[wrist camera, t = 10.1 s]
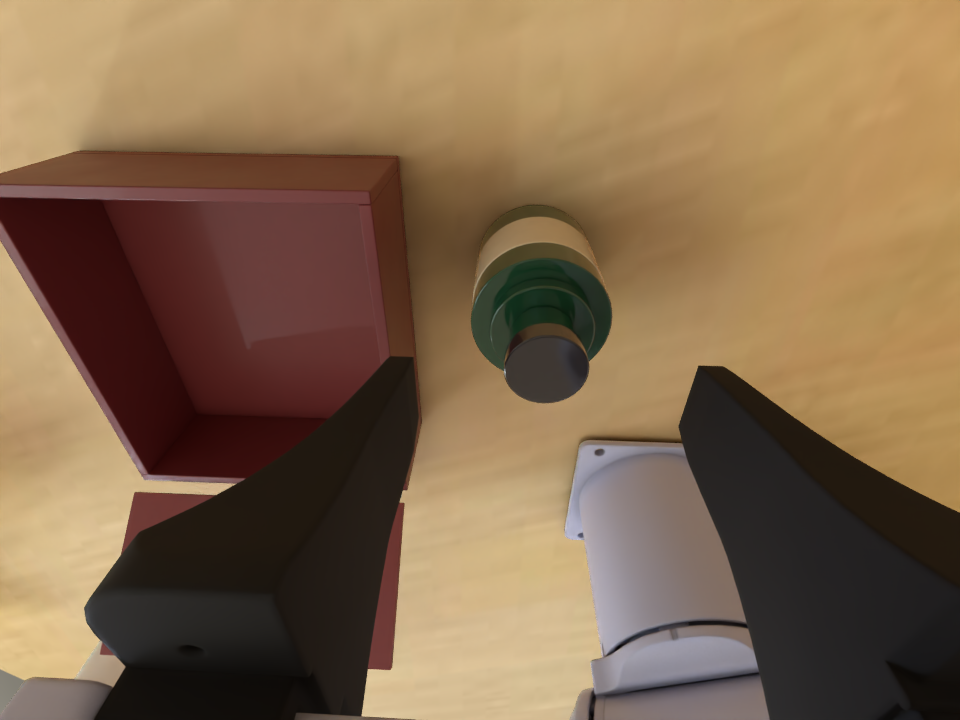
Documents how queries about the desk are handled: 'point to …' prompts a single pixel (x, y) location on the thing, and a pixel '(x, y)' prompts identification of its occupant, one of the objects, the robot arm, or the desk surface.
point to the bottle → (539, 303)
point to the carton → (215, 293)
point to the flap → (166, 505)
